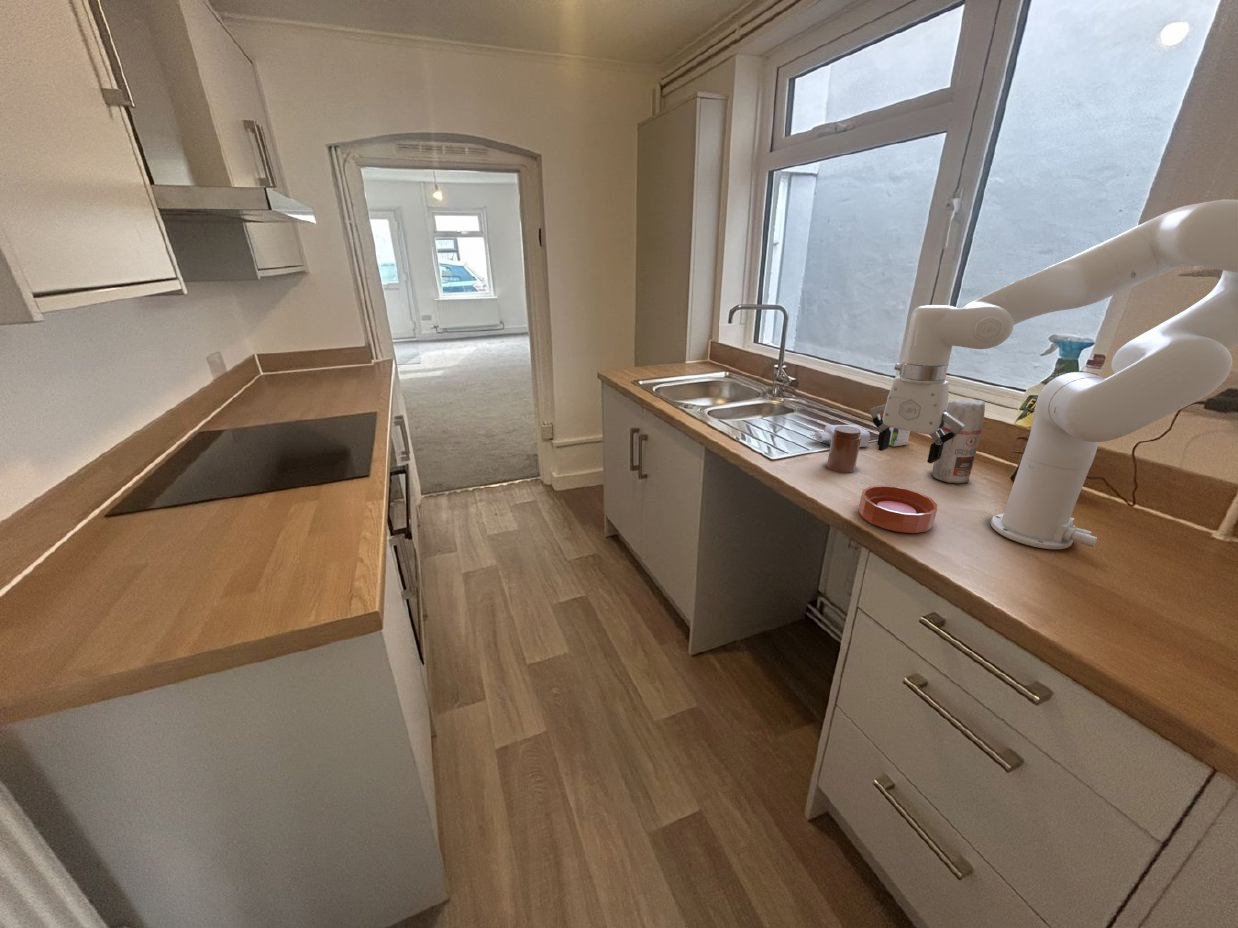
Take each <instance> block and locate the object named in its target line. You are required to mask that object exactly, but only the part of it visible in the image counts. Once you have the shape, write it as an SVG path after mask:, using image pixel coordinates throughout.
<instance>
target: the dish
mask: <svg viewBox="0 0 1238 928" xmlns="http://www.w3.org/2000/svg"><path fill="white" fill-rule="evenodd" d="M881 501H895V502H900V503H904V504H906V505H909V506H911V507H912V508H914V509H915V510H916V514H911V513H901V512H897V511H892V510H888V509H885V508H883V507H880V506H877V504H878V503H879V502H881ZM937 511H938V504H937V502H935V500H933V499H932V498H931V497H929V496H927V495H925V494H923V493H922V492H919V491H915V490H912V489H909V488H906V487H900V486H895V485H873V486H868V487H866V488H864V489H863V490H862V492H861V495H860V500H859V506H858V513H859V515H860V516H861V518H863V519H864V520H866V521H867V522H868V523H870V524H871V525H874V526H877V527H879V528H881V529H885V530H888V531H892V532H897V533H909V534H918V533H924V532H927V531H929V530H930V529H933V527H934V523H935V519H936V516H937Z"/></svg>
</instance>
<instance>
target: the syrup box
mask: <svg viewBox="0 0 1238 928" xmlns="http://www.w3.org/2000/svg"><path fill="white" fill-rule="evenodd" d="M887 399H888V397H887ZM887 399H886V400H887ZM889 430H891V436H890V441H889V446H890V447H900V446H906V445H908V443H909V438H910V434H911V431H907V430H902V429H897V428H893V427H890V428H889Z"/></svg>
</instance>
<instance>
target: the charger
mask: <svg viewBox="0 0 1238 928" xmlns="http://www.w3.org/2000/svg"><path fill="white" fill-rule="evenodd" d="M838 426H850V427H855V428H858V429H860V430H861V434H860V436H861V441H860V447H859V448H868V447H869V443H870V438H871V434H870V433H871V432H869V431H868V430H866V429H865V428H864V427H861V426H860V425H858V424H827V425H825V426H824V429H823V431H815V433H814V434H810V437H812V438H813V439H816V440H817V441H818V442H819V443H820V442H827V443H828V444H829V445H831V439H832V433H834V430H835V427H838Z"/></svg>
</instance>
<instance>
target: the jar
mask: <svg viewBox="0 0 1238 928" xmlns="http://www.w3.org/2000/svg"><path fill="white" fill-rule="evenodd" d="M860 434H861V430H860V429H858V428H855V427H850V426H838V427H835V430H834V433H832V439H831V444H829V445H830V446H829V452H828V458H827V463H826V467H827V469H829V470H831V471H834V472H837V473H843V474H849V473H853V472H855V470H856V467H857V461H858V456H859V451H860V448H861V447H860V441H861V436H860Z"/></svg>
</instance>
